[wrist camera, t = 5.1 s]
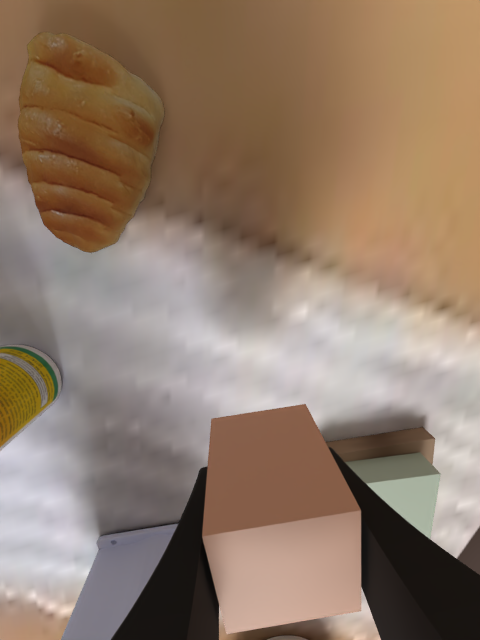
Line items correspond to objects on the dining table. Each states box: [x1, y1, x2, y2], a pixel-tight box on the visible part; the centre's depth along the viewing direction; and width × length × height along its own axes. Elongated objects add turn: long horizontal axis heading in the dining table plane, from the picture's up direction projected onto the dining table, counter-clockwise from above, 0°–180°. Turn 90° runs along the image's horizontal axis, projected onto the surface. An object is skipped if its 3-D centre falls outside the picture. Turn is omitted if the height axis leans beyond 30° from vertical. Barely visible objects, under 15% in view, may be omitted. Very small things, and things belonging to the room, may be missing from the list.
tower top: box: [345, 453, 440, 539], centre depth 20 cm, size 8×8×2 cm
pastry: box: [18, 32, 165, 253], centre depth 13 cm, size 9×7×4 cm
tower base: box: [326, 427, 435, 464], centre depth 22 cm, size 10×10×2 cm
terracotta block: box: [202, 404, 361, 634], centre depth 10 cm, size 4×4×5 cm
